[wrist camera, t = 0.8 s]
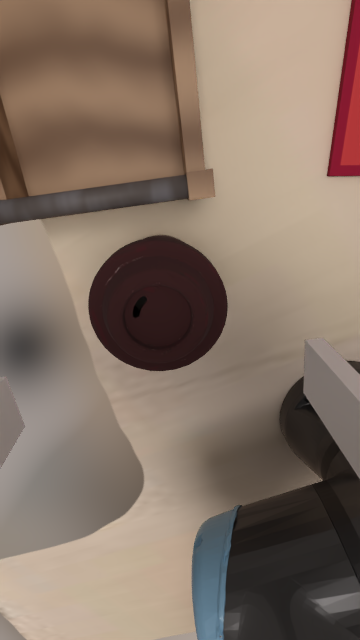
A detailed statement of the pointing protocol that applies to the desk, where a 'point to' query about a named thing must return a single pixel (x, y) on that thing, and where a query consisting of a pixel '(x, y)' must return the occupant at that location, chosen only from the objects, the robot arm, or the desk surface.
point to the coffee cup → (158, 304)
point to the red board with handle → (348, 105)
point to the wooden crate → (97, 107)
